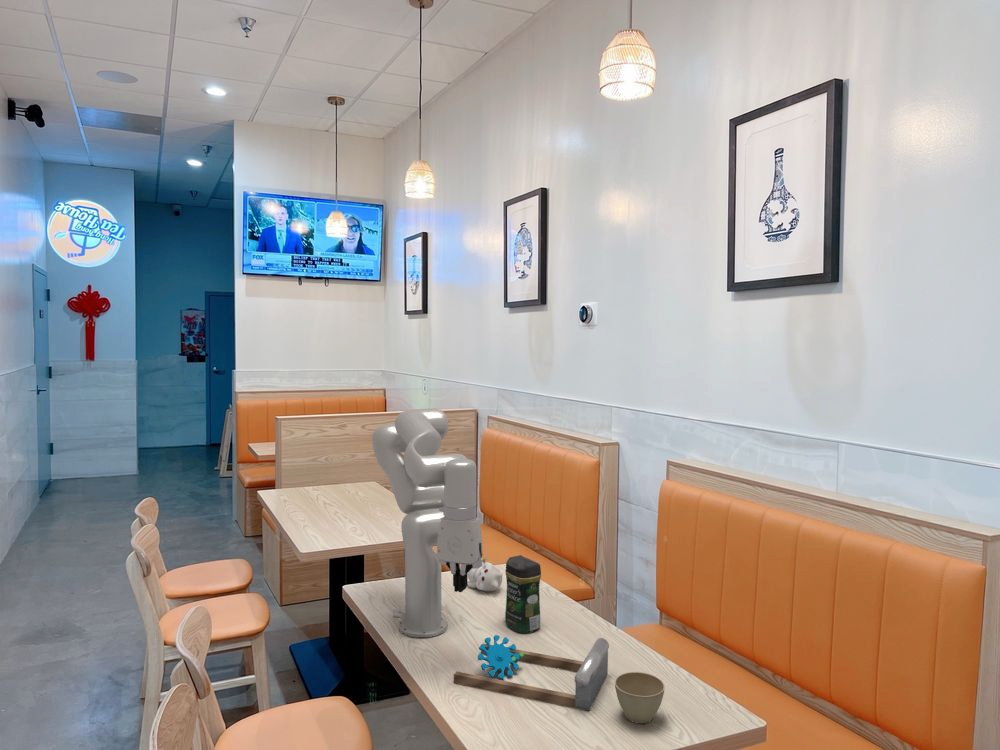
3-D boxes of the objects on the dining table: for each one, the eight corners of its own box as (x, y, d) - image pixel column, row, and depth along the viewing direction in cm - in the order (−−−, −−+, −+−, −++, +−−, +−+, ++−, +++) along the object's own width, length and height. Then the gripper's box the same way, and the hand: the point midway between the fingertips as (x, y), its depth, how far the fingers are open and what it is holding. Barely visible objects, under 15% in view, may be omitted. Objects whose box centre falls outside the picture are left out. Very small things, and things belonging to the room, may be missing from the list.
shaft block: (574, 709, 146) (574, 671, 146) (594, 671, 163) (595, 637, 163) (589, 712, 145) (589, 674, 145) (608, 673, 162) (609, 639, 161)
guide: (453, 683, 157) (453, 674, 157) (483, 651, 173) (483, 643, 173) (575, 708, 147) (575, 698, 147) (594, 672, 163) (594, 663, 162)
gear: (481, 677, 156) (477, 633, 163) (473, 687, 160) (470, 643, 167) (527, 677, 160) (522, 634, 166) (519, 686, 164) (514, 644, 170)
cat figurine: (468, 552, 221) (496, 559, 209) (486, 562, 225) (515, 569, 213) (456, 582, 218) (484, 590, 206) (475, 591, 222) (504, 599, 210)
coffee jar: (500, 624, 189) (500, 556, 188) (523, 617, 194) (524, 551, 193) (521, 636, 181) (521, 566, 180) (545, 629, 186) (546, 560, 185)
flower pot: (609, 705, 148) (609, 672, 148) (655, 703, 149) (656, 670, 148) (621, 732, 138) (621, 696, 138) (670, 730, 139) (671, 694, 138)
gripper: (424, 513, 163) (424, 591, 164) (483, 519, 157) (483, 600, 158) (438, 506, 170) (438, 581, 171) (496, 511, 164) (495, 589, 165)
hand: (460, 589), depth 165 cm, fingers closed
